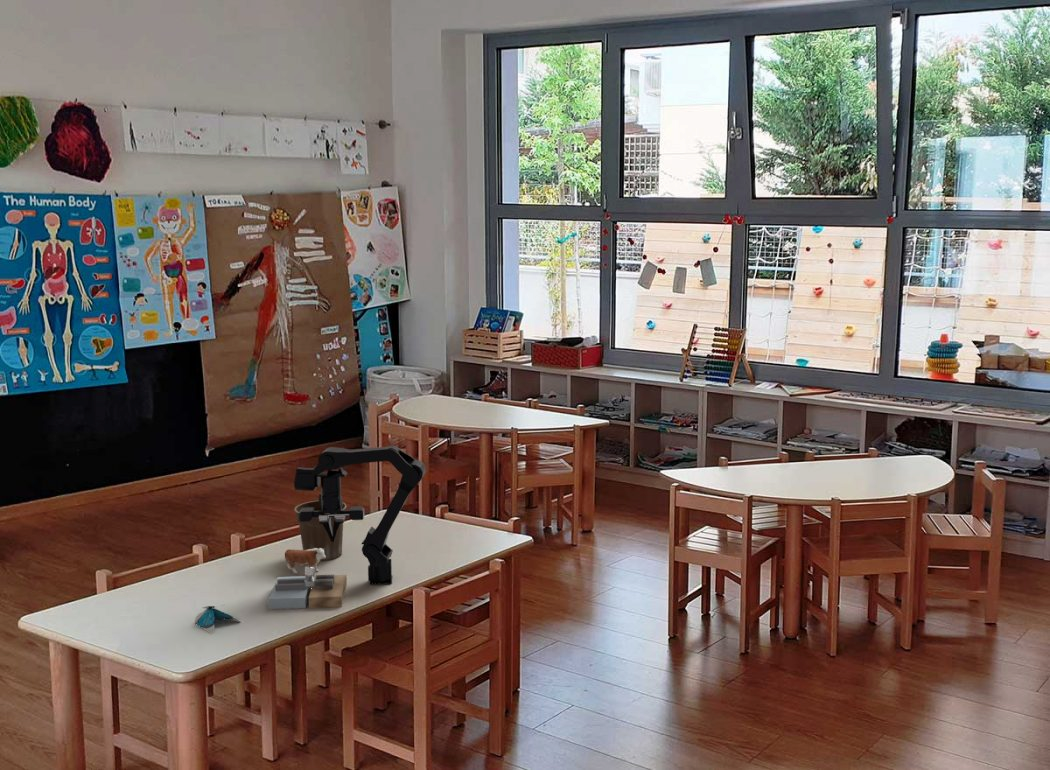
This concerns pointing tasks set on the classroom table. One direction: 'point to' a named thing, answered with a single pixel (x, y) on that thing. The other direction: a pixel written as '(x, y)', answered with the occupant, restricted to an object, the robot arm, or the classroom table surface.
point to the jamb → (328, 591)
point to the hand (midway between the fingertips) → (332, 541)
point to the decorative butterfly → (211, 618)
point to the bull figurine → (304, 557)
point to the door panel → (289, 593)
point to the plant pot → (319, 533)
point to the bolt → (311, 577)
